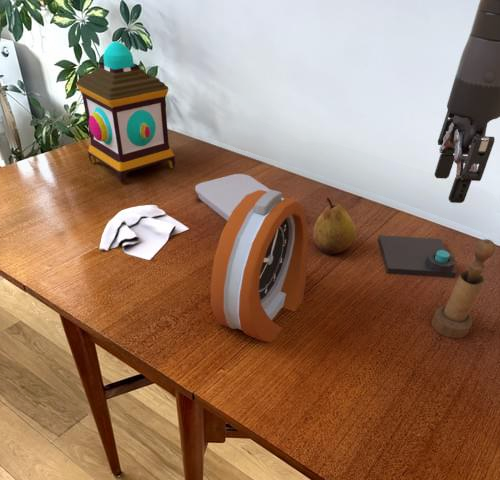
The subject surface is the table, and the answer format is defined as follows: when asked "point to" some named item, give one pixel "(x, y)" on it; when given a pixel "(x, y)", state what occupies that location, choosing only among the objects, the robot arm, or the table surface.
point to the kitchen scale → (415, 256)
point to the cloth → (140, 231)
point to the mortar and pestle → (463, 296)
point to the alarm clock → (260, 264)
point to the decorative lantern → (125, 114)
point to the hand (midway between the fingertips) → (447, 189)
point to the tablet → (227, 192)
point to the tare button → (442, 256)
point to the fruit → (333, 230)
